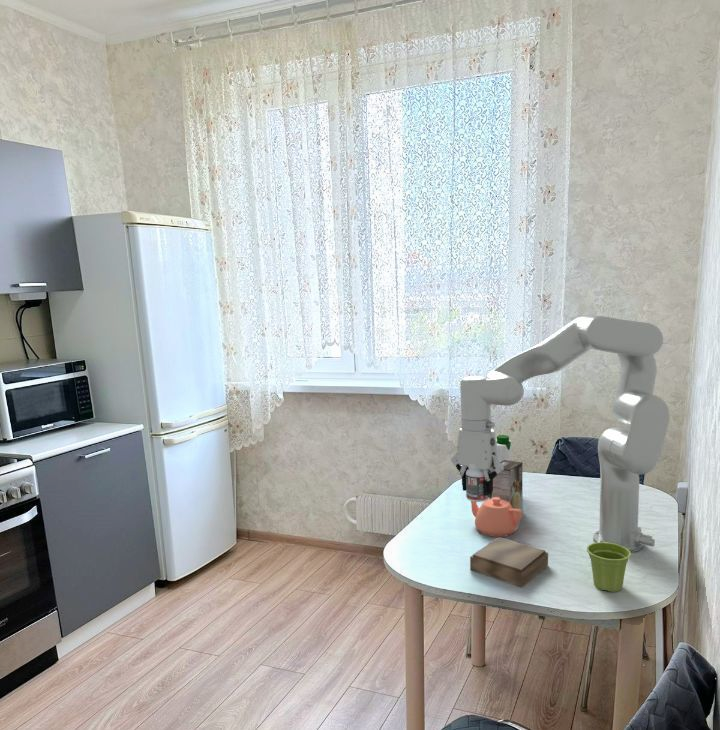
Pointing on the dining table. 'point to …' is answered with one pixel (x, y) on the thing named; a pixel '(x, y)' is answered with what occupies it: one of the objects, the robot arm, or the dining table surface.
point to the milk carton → (503, 448)
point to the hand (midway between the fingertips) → (477, 491)
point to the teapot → (496, 517)
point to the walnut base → (509, 561)
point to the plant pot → (608, 565)
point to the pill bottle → (475, 484)
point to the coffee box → (509, 484)
